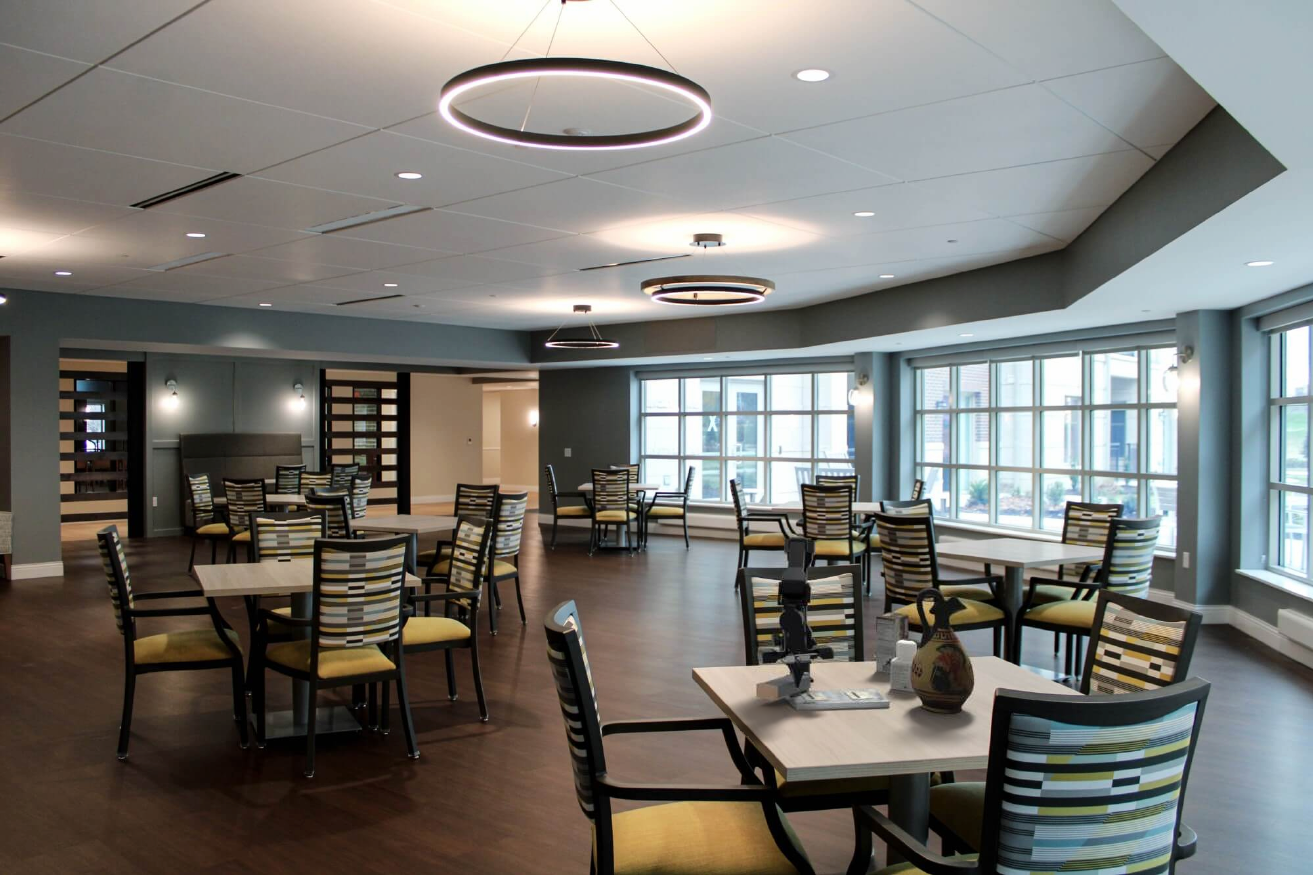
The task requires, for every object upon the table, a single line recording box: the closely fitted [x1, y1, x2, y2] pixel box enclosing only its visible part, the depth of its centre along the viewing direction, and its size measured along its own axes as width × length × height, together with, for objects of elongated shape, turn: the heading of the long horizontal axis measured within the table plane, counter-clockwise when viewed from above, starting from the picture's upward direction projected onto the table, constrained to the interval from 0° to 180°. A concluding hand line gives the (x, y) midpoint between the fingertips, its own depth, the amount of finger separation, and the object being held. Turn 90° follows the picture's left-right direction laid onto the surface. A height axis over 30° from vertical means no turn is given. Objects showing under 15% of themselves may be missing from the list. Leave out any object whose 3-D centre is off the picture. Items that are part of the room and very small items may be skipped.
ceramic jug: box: [910, 587, 975, 715], centre depth 241 cm, size 17×15×30 cm
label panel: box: [784, 688, 891, 711], centre depth 246 cm, size 12×24×2 cm, turn 97°
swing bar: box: [755, 672, 811, 701], centre depth 248 cm, size 19×5×5 cm, turn 137°
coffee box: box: [875, 611, 909, 675], centre depth 281 cm, size 9×6×16 cm
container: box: [890, 638, 921, 693], centre depth 261 cm, size 8×8×13 cm
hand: (797, 688), depth 245 cm, fingers closed
